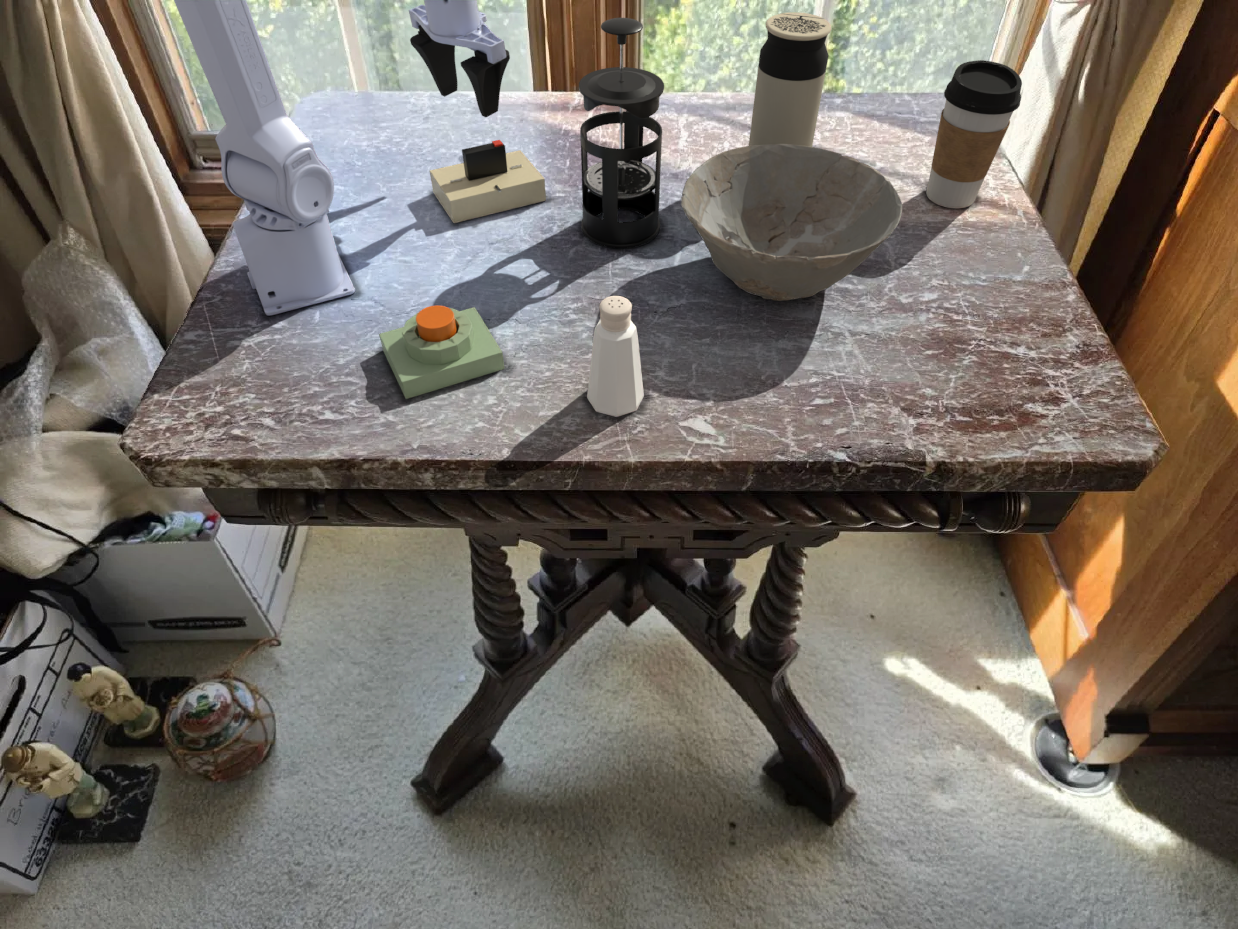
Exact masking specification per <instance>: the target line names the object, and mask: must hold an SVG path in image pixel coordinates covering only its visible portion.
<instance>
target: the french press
mask: <svg viewBox="0 0 1238 929" xmlns="http://www.w3.org/2000/svg"><path fill="white" fill-rule="evenodd" d="M643 28H644V25H643V23H642V22H641V21H639V20H637V19H634V18H630V17H614V18H610V19H606V20H605V21H603V22H602V23H601V25H600V29H601V30H602V31H603V32H604V33H606V34H609V35H613V36H616V43H617V44H618V45H619V66H615V67H605V68H600V69H597V70H594V71H591V72H589V73H587V74H586V75H584V76H583V77H582V78H581V79H580V81H579V82H578V90H579V93H580V95H581V96H582V99H583V108H584V111H586V112H590V111H592V110H594V109H596V108H597V107H599V106H609V107H618V108H619V110H618V111H608V112H601V113H598V114H595V115H593V116H591V117H588V118H587V119H586V120H584V122H583V123H581V126H580V130H579V134H580V135H579V138H580V162H581V163H580V164H581V197H582V200H581V201H582V202H581V203H582V204H581V206H582V207H581V208H582V218H581V221H580V229H581V232H582V234H583V235H584V237H585V238H586V239H587V240H589V241H590V242H591V243H593V244H595V245H598V246H601V247H604V248H608V249H619V250H621V249H622V250H623V249H625V250H626V249H634V248H637V247H641V246H644V245H646V244H648V243H650V242H651V241H653V240H654V239H655V238H656V237H657V236H658V235H659V233H660V229H661V221H660V219H659V218H660V217H659V216H660V214H659V213H660V192H661V190H660V189H661V168H662V149H663V148H662V147H663V146H662V144H663V128H662V125H661V124H660V123H659V121H658V120H656V119H654V118H652V117H651V116H653V115H654V114H656V113H657V112H658V111H659V108H660V97H661V96H662V95H663V94H664V91H665V82H664V81H663V79H662V78H661V77H660V76H658V75H657V74H655V73H654V72H652V71H649V70H645V69H641V68H635V67H628V66H624V45H626V44H627V36H632V35H636V34H638V33H640V32H642V30H643ZM614 124H619V147H618V148H617V147H616V148H615V147H607V146H602V145H599V144H596V143H594V142H592V141H590V140H589V139H588V133H589V132H590V131H592V130H594V129H596V128H599V127H602V126H606V125H614ZM644 128H646V129H647V130H650V131H652V132H653V133H654V134H655V135H656V136H657V137H656V138H655V139H654V140H653V141H650V142H649V143H647V144H644ZM588 154H589V155H591V156H593V157H595V158H597V159H601V162H597V163H595V164H594V165H593V164H592V165H591V166H590V167H589V164H588V162H589V161H588ZM654 154H655V169H654V168H653V167H651V166H650V165H649V164H646V163H644V162H643V159H645V158H648V157H650V156H652V155H654ZM619 210H624V211H631V212H635V213H637V214H640V215H641V216H643V217H641V218H638V219H633V220H625V221H619V219H618V216H619V215H618V214H619ZM599 215H602V218H601V217H598V216H599Z"/></svg>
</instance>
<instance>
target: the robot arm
mask: <svg viewBox="0 0 1238 929" xmlns="http://www.w3.org/2000/svg"><path fill="white" fill-rule="evenodd" d="M173 2H174V4H175V6H176V9H177V11H178V13H179V16H180V18H181V20H182V23H183V25H184V28H185V30H186V32H187V35H188V37H189V40H190V42H191V45H192V46H193V49H194V53H195V54H196V56H197V58H198V61H199V63H200V66H201V68H202V71H203V74H204V75H205V78H206V80H207V83H208V85H209V88H210V90H211V92H212V95H213V97H214V99H215V102H216V104H217V106H218V109H219V112H220V113H221V116H222V118H223V120H224V123H225V125H224V126H223V127H222V128H221V129H220V130H219V132H218V133H217V134H216V136H215V142H216V144H217V147H218V150H219V153H220V158H221V160H220V161H221V165H220V168H221V170H220V172H221V178H222V180H223V183H224V184H225V187H226V188H227V190H228V191H230V192H231V194H233V195H234V196H236V197H237V198H240V199H241V200H243V202H244V206H245V208H246V210H247V211H248V213H249V214H248V215H246V216H245V217H242V218H240V219H237V220H235V221H233V222H232V227H233V230H234V233H235V235H236V238H237V240H238V244H239V246H240V249H241V252H242V255H243V257H244V260H245V263H246V265H247V268H248V271H247V272H246V274H247V276H248V279H249V282H250V285H251V288H252V290H255V289H256V292H257V296H258V297H259V301H260V303H261V306H262V308H263V311H264V314H265V315H266V316H268V317H269V316H274V315H278V314H282V313H285V312H289V311H293V310H297V309H301V308H305V307H309V306H312V305H316V304H320V303H323V302H328V301H331V300H336V299H339V298H342V297H347V296H351V295H353V294H355V292H356V288H355V286H354V284H353V281H352V280H351V278H350V275H349V273H348V271H347V269H346V267H345V265H344V263H343V260H342V258H341V256H340V254H339V253H338V249H337V246H336V242H335V239H334V235H333V232H332V228H331V225H330V224H331V223H330V221H329V217H328V214H329V213H330V207H331V205H332V203H333V200H334V197H335V196H334V195H335V181H334V176H333V174H332V172H331V169H330V168H329V167H328V165H326V164H325V163H324V162H323V161H322V160H321V159H320V158H319V156H318V153H317V151H316V150H315V147H314V144H313V141H312V140H311V139H310V137H308V135H306V133H305V132H304V131H302V129H301V128H300V127H299V126H298V125H297V124H296V123H295V122H294V121H293V120H292V119H291V118H290V117H289V115H288V113H287V111H286V108H285V105H284V103H283V100H282V97H281V94H280V91H279V89H278V86H277V83H276V80H275V77H274V74H273V72H272V69H271V66H270V64H269V61H268V58H267V55H266V52H265V49H264V46H263V44H262V41H261V38H260V35H259V33H258V29H257V27H256V25H255V21H254V19H253V16H252V12H251V10H250V7H249V4H248V2H247V0H173ZM408 14H409V18H410V23H411V26H412V28H414V29H416V30H418V31H417V34H415V35H412V36H411V37H410V39H409V42H410V45H411V46H412V47H413V49H415V51H416V52H417V53H418V55H419V56H420V57H421V59H422V60H423V62H424V63H425V65H426V66H427V69H428V71H429V72H430V74H431V76H432V79H433V81H434V83H435V85H436V88H437V89H438V91H439V93H440V95H441V96H442V97H444V98H445V97H448V96H450V95H452V94H453V93H455V92H457V91H458V74H457V66H456V47H461V48H467V49H468V50H471V51H472V52H473V54H474V55H472V56H470V57H468V58H467V59H464V60H463V61H460V67H461V68H462V69H463V71H464V72H465V74H466V75H467V78H468V80H469V82H470V84H471V86H472V89H473V92H474V95H475V99H476V104H477V107H478V110H479V112H480V115H481V116H482V117H484V118H488V117H489V116H492V115H493V114H496V113H497V112H499V104H500V94H501V87H502V81H503V78H504V75H505V71H506V68H507V66H508V63H509V61H510V59H511V55H510V51H509V50H507V49H506V43H505V40H504V39H502V38H500V37H499V36H497V34H496V33H494V31H492V30H491V28H489V26H488V25H487V23H486V22H487V20H488V19H487V14H486V13H484V12H482V11H479V7H478V0H423V4H420V5H417V6H415V7H413V8H410V9H408Z"/></svg>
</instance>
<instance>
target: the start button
mask: <svg viewBox="0 0 1238 929" xmlns="http://www.w3.org/2000/svg"><path fill="white" fill-rule="evenodd" d="M450 308H451V307H447V306H445V305H437V304H435V305H430V306H427V307H426V306H425V307H424V308H422V309H421V310H419V311H418V312H417V313H418V314H417V313H416V314H417V316H416V323H417V328H418V332H419V336H420V337H421V338H422V339H423V340H424V341H427V342H441V341H445V340H448V339H450V338H451V337H453V336H454V335H455V333H456V323H455V317H454V313H453V311H452V310H451V309H450Z"/></svg>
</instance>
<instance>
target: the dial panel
mask: <svg viewBox="0 0 1238 929" xmlns="http://www.w3.org/2000/svg"><path fill="white" fill-rule="evenodd" d="M506 161H507V172H505V173H501V174H496V175H492V176H488V177H483V178H479V179H475V180H470V181H469V180H468V179H467V177H466V176H465V169H464V162H462V163H457V164H452V165H447V166H443V167H440V168H434V169H430V170H429V176H430V182H431V188H432V193H433V194H434V196H435V197H436V199H437V200H438V202H439V204H440V205H441V206H442V208H443V210H444V211H445V212H446V214H447V216H448V218H450V220H451V221H452V223H453V224H457V223H461V222H466V221H469V220H474V219H477V218H481V217H485V216H489V215H494V214H497V213H502V212H506V211H509V210H514V209H518V208H521V207H526V206H531V205H534V204H538V203H542V202H546V201H547V196H546V182H545V176H543V175H542V174H541V172H540V171H539V170H538V168H536V167H535V166H534V165H533V163H532V162H531V161H530V160H529V158H528V157H527V156H526V155H525V154H524V153H523V151H522V150H521V149H519V150H514V151H510V152H506Z"/></svg>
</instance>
